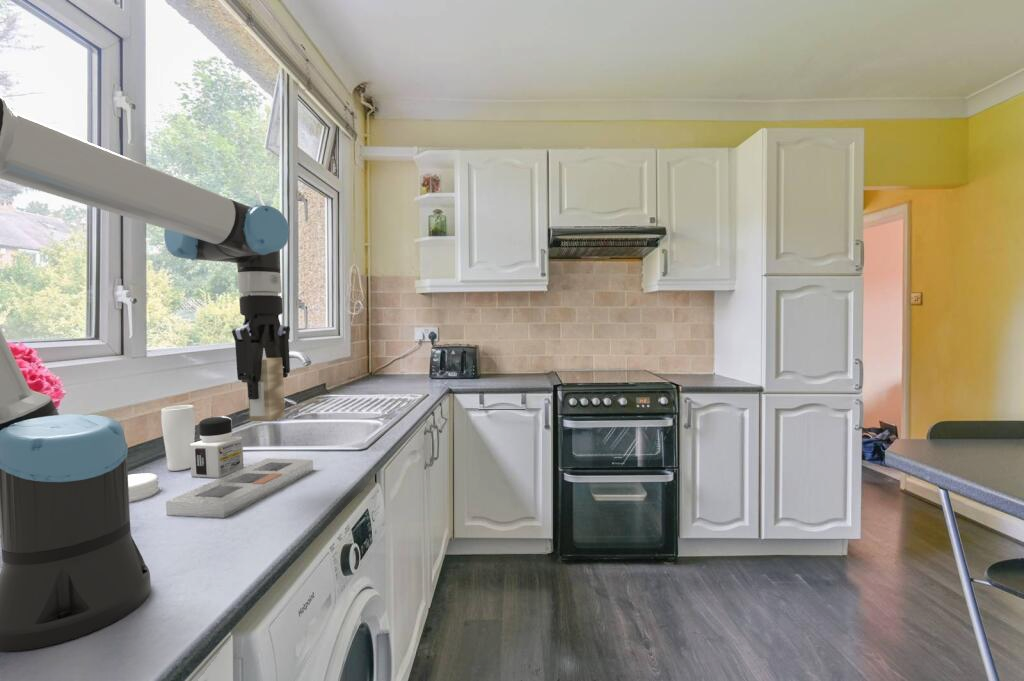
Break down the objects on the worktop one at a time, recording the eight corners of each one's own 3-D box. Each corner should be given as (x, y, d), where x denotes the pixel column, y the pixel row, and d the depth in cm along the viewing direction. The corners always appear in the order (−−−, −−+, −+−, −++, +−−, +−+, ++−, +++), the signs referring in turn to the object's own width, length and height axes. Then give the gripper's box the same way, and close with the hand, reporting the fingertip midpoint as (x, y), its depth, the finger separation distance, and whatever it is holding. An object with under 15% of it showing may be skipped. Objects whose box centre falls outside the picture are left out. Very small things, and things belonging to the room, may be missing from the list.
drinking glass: (164, 467, 121) (161, 406, 120) (197, 462, 125) (194, 403, 124) (163, 474, 115) (160, 410, 115) (197, 469, 119) (194, 407, 119)
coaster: (90, 499, 100) (89, 482, 100) (148, 485, 109) (147, 469, 108) (107, 509, 95) (105, 491, 94) (166, 494, 103) (165, 477, 103)
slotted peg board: (224, 518, 89) (223, 503, 88) (166, 514, 91) (165, 500, 91) (313, 470, 116) (312, 459, 116) (267, 468, 118) (267, 457, 118)
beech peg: (269, 421, 96) (266, 359, 95) (249, 420, 96) (246, 359, 96) (285, 416, 100) (282, 357, 99) (265, 416, 101) (262, 357, 100)
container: (219, 478, 112) (216, 421, 111) (190, 477, 113) (187, 420, 112) (244, 468, 119) (241, 414, 118) (216, 467, 121) (214, 414, 120)
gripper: (244, 292, 88) (251, 422, 89) (305, 295, 105) (311, 404, 106) (208, 294, 89) (216, 422, 90) (274, 297, 106) (280, 404, 108)
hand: (267, 412), depth 98 cm, fingers closed on beech peg, 4 cm apart
